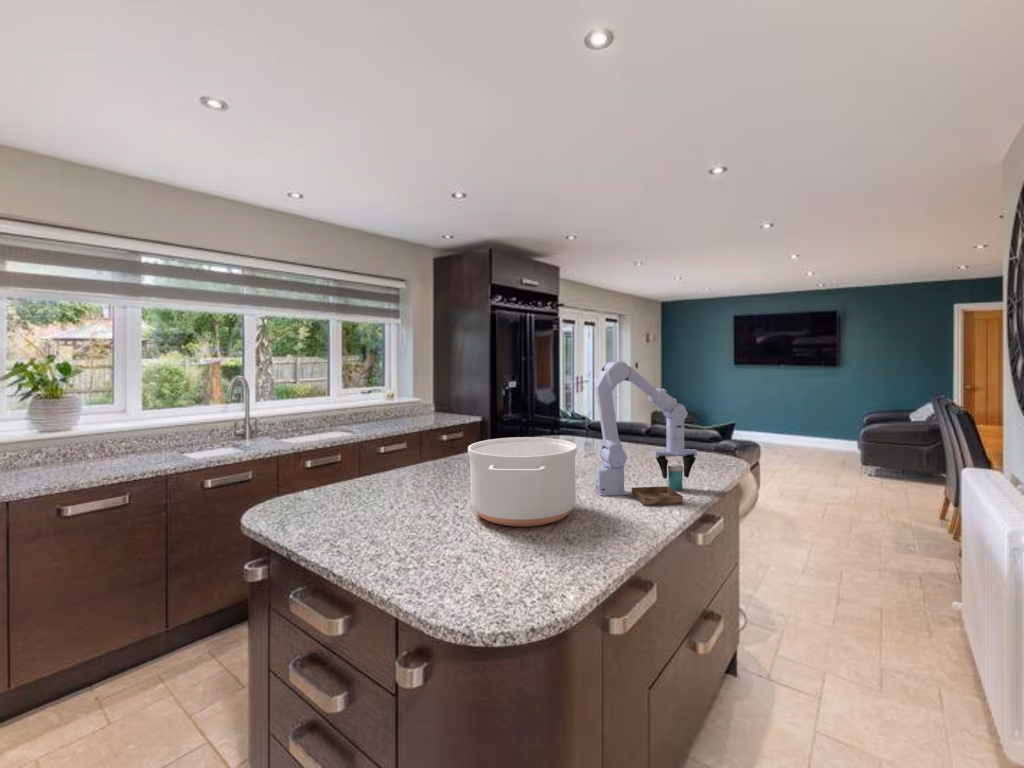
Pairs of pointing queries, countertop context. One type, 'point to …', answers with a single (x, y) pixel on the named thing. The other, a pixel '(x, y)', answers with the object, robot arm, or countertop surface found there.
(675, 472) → the shaker
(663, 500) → the tray
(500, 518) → the pot
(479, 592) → the countertop surface
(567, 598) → the countertop surface
